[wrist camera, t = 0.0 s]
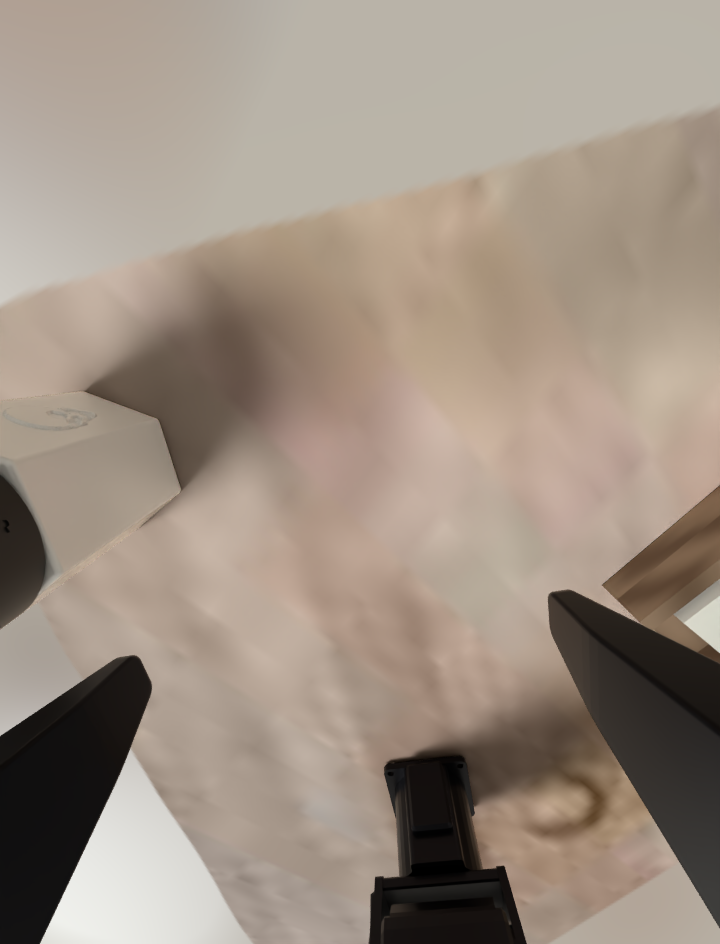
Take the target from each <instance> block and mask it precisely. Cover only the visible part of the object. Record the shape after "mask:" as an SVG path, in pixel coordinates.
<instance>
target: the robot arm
mask: <svg viewBox="0 0 720 944" xmlns="http://www.w3.org/2000/svg"><path fill="white" fill-rule="evenodd" d="M548 609H549V624H550V630H551V634H552V636H553V639H554V641H555V643H556V645H557V647H558V649H559V651H560V653H561V655H562V657H563V659H564V661H565V663H566V666H567V668H568V670H569V672H570V674H571V676H572V678H573V680H574V682H575V684H576V686H577V688H578V690H579V692H580V695H581V697H582V699H583V701H584V703H585V705H586V707H587V709H588V711H589V713H590V715H591V716H592V718H593V720H594V722H595V723H596V725H597V727H598V729H599V730H600V732H601V734H602V735H603V737H604V739H605V740H606V742H607V743H608V745H609V747H610V748H611V750H612V752H613V753H614V755H615V757H616V758H617V760H618V762H619V763H620V765H621V766H622V768H623V770H624V771H625V773H626V775H627V776H628V778H629V780H630V781H631V783H632V785H633V786H634V788H635V790H636V791H637V793H638V794H639V796H640V798H641V799H642V801H643V803H644V804H645V806H646V808H647V809H648V811H649V813H650V814H651V816H652V817H653V819H654V821H655V822H656V824H657V826H658V827H659V829H660V831H661V832H662V834H663V836H664V837H665V839H666V841H667V842H668V844H669V845H670V847H671V849H672V850H673V852H674V854H675V855H676V857H677V859H678V860H679V862H680V864H681V865H682V867H683V868H684V870H685V872H686V873H687V875H688V877H689V878H690V880H691V882H692V883H693V885H694V887H695V888H696V890H697V892H698V893H699V895H700V896H701V898H702V900H703V901H704V903H705V905H706V906H707V908H708V909H709V911H710V913H711V914H712V916H713V918H714V919H715V921H716V923H717V924H718V926H719V928H720V663H718V662H716V661H714V660H712V659H710V658H708V657H706V656H704V655H702V654H700V653H698V652H696V651H694V650H692V649H690V648H688V647H686V646H684V645H682V644H680V643H678V642H676V641H674V640H672V639H670V638H668V637H666V636H664V635H662V634H659V633H657V632H655V631H653V630H651V629H649V628H647V627H645V626H643V625H641V624H639V623H637V622H635V621H633V620H631V619H629V618H627V617H625V616H623V615H621V614H619V613H617V612H615V611H613V610H611V609H609V608H607V607H605V606H603V605H601V604H599V603H597V602H595V601H593V600H591V599H589V598H587V597H585V596H582V595H580V594H578V593H576V592H574V591H572V590H561V591H555V592H551V593H550V594H549V596H548ZM151 691H152V684H151V680H150V678H149V676H148V674H147V672H146V670H145V668H144V666H143V664H142V662H141V660H140V658H139V657H137V656H135V655H131V656H124V657H119V658H116V659H114V660H113V661H111V662H110V663H108V664H107V665H105V666H104V667H102V668H101V669H99V670H98V671H96V672H95V673H93V674H92V675H90V676H89V677H87V678H86V679H85V680H83V681H82V682H80V683H79V684H77V685H76V686H74V687H73V688H71V689H70V690H68V691H67V692H65V693H64V694H62V695H61V696H59V697H58V698H56V699H55V700H53V701H52V702H50V703H49V704H47V705H46V706H45V707H43V708H41V709H40V710H38V711H37V712H35V713H34V714H32V715H31V716H29V717H28V718H27V719H25V720H23V721H22V722H21V723H19V724H18V725H16V726H15V727H13V728H12V729H10V730H9V731H7V732H6V733H4V734H3V735H1V736H0V944H40V943H41V940H42V938H43V936H44V934H45V932H46V930H47V928H48V926H49V923H50V921H51V919H52V917H53V915H54V913H55V911H56V909H57V907H58V904H59V902H60V900H61V898H62V896H63V894H64V892H65V890H66V887H67V885H68V883H69V881H70V879H71V877H72V875H73V873H74V871H75V869H76V866H77V864H78V862H79V860H80V858H81V856H82V854H83V851H84V850H85V847H86V845H87V843H88V841H89V838H90V837H91V835H92V833H93V830H94V828H95V826H96V824H97V822H98V820H99V818H100V816H101V813H102V811H103V809H104V807H105V805H106V803H107V801H108V799H109V797H110V794H111V792H112V790H113V788H114V786H115V784H116V781H117V779H118V777H119V775H120V773H121V770H122V768H123V765H124V763H125V760H126V758H127V755H128V753H129V750H130V748H131V745H132V742H133V740H134V737H135V735H136V732H137V729H138V727H139V724H140V722H141V719H142V716H143V714H144V711H145V709H146V706H147V703H148V701H149V698H150V695H151ZM384 775H385V779H386V783H387V787H388V790H389V794H390V798H391V802H392V806H393V809H394V813H395V817H396V824H397V843H398V862H399V877H390V878H384V877H383V876H379V877H375V890H374V892H373V893H372V894H371V919H370V937H369V944H527V943H526V940H525V936H524V933H523V929H522V926H521V922H520V919H519V915H518V912H517V908H516V905H515V901H514V898H513V894H512V891H511V887H510V884H509V880H508V877H507V873H506V870H505V867H504V866H496V868H494V869H483V867H482V862H481V858H480V853H479V849H478V844H477V839H476V835H475V830H474V826H473V821H472V816H473V815H474V814H475V812H474V806H473V800H472V794H471V788H470V782H469V776H468V770H467V764H466V760H465V758H464V757H462V756H455V757H446V758H438V759H429V760H420V761H411V762H403V763H394V764H388V765H386V766H385V767H384Z"/></svg>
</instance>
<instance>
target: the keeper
mask: <svg viewBox="0 0 720 944" xmlns="http://www.w3.org/2000/svg"><path fill="white" fill-rule="evenodd" d="M673 615H675V616H676V617H677V618H678V619H679V620H681V621H682V622H683V623H684V624H685V625H686V626H688V627H689V628H690V629H691V630H693V631H694V632H695V633H696V634H697V635H699V636H700V637H701V638H702V639H703V640H705V641H706V642H707V643H708V644H709V645H711V646H712V647H713V648H714V649H715V650H717V651H718V652H719V653H720V579H719V580H718V581H716V582H715V583H714V584H712V585H711V586H710V587H708V588H707V589H706V590H705V591H703V592H702V593H701V594H699V595H698V596H697V597H695V598H694V599H693V600H692V601H690V602H689V603H688V604H686V605H685V606H684V607H682V608H681V609H680V610H679V611H677V612H676V613H675V614H673Z"/></svg>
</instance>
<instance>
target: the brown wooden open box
mask: <svg viewBox="0 0 720 944" xmlns="http://www.w3.org/2000/svg"><path fill="white" fill-rule="evenodd" d="M719 579H720V486H719V487H718V488H717V489H716V490H714V491H713V492H712V493H711V494H710V495H708V496H707V497H706V498H705V499H704V500H702V501H701V502H700V503H699V504H698V505H697V506H695V507H694V508H693V509H692V510H691V511H689V512H688V513H687V514H686V515H685V516H684V517H682V518H681V519H680V520H679V521H678V522H676V523H675V524H674V525H673V526H672V527H670V528H669V529H668V530H667V531H666V532H665V533H663V534H662V535H661V536H660V537H659V538H657V539H656V540H655V541H654V542H653V543H652V544H650V545H649V546H648V547H647V548H646V549H644V550H643V551H642V552H641V553H640V554H638V555H637V556H636V557H635V558H634V559H633V560H631V561H630V562H629V563H628V564H627V565H625V566H624V567H623V568H622V569H621V570H620V571H618V572H617V573H616V574H615V575H614V576H612V577H611V578H610V579H609V580H608V581H606V582H605V583H604V584H603V585H602V586H603V587H604V588H605V589H606V590H607V591H608V592H609V593H610V594H612V595H613V596H614V597H615V598H616V599H617V600H618V601H619V602H620V603H621V604H622V605H623V606H624V607H625V608H626V609H627V610H628V611H629V612H630V613H631V614H632V615H633V616H634V617H635V618H636V619H637V620H638V621H639V622H640V623H641V624H642V625H644V626H645V627H647V628H649V629H651V630H655V631H656V632H657V633H659V634H662V635H664V636H666V637H668V638H670V639H672V640H674V641H676V642H678V643H680V644H682V645H684V646H686V647H688V648H690V649H692V650H694V651H696V652H698V653H700V654H702V655H704V656H706V657H708V658H710V659H712V660H714V661H716V662H718V663H720V653H719V652H718V651H717V650H715V649H714V648H713V647H712V646H711V645H709V644H708V643H707V642H706V641H705V640H703V639H702V638H701V637H700V636H699V635H697V634H696V633H695V632H694V631H693V630H691V629H690V628H689V627H688V626H686V625H685V624H684V623H683V622H682V621H681V620H679V619H678V618H677V617H676V616H675V615H673V614H675V613H676V612H677V611H679V610H680V609H681V608H682V607H684V606H685V605H686V604H688V603H689V602H690V601H692V600H693V599H694V598H695V597H697V596H698V595H699V594H701V593H702V592H703V591H705V590H706V589H707V588H708V587H710V586H711V585H712V584H714V583H715V582H716V581H718V580H719Z"/></svg>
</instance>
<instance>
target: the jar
mask: <svg viewBox="0 0 720 944" xmlns="http://www.w3.org/2000/svg"><path fill="white" fill-rule="evenodd" d="M180 491H181V488H180V485H179V481H178V478H177V475H176V472H175V469H174V466H173V463H172V460H171V457H170V454H169V450H168V447H167V444H166V441H165V438H164V435H163V432H162V428H161V425H160V422H159V420H158V419H156V418H154V417H151V416H148V415H146V414H143V413H140V412H138V411H135V410H132V409H130V408H127V407H124V406H122V405H119V404H116V403H113V402H111V401H108V400H105V399H103V398H100V397H97V396H95V395H92V394H89V393H87V392H83V391H79V392H70V393H62V394H53V395H44V396H35V397H27V398H18V399H9V400H1V401H0V629H2V628H3V627H5V626H6V625H7V624H9V623H10V622H11V621H13V620H14V619H16V618H17V617H18V616H19V615H21V614H22V613H24V612H25V611H27V610H28V609H29V608H31V607H32V606H33V605H35V604H36V603H38V602H39V601H40V600H42V599H43V598H44V597H46V596H47V595H48V594H50V593H51V592H53V591H54V590H55V589H57V588H58V587H59V586H61V585H62V584H63V583H65V582H66V581H68V580H69V579H70V578H72V577H73V576H74V575H76V574H77V573H79V572H80V571H81V570H83V569H84V568H85V567H87V566H88V565H89V564H91V563H92V562H94V561H95V560H96V559H98V558H99V557H100V556H102V555H103V554H104V553H106V552H107V551H109V550H110V549H111V548H113V547H114V546H115V545H117V544H118V543H120V542H121V541H122V540H124V539H125V538H126V537H128V536H129V535H130V534H132V533H133V532H135V531H136V530H137V529H138V528H139V527H140V526H142V525H143V524H144V523H145V522H146V521H147V520H149V519H150V518H151V517H152V516H153V515H154V514H156V513H157V512H158V511H159V510H160V509H161V508H162V507H164V506H165V505H166V504H167V503H168V502H169V501H171V500H172V499H173V498H174V497H175V496H176V495H178V494H179V493H180Z"/></svg>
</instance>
